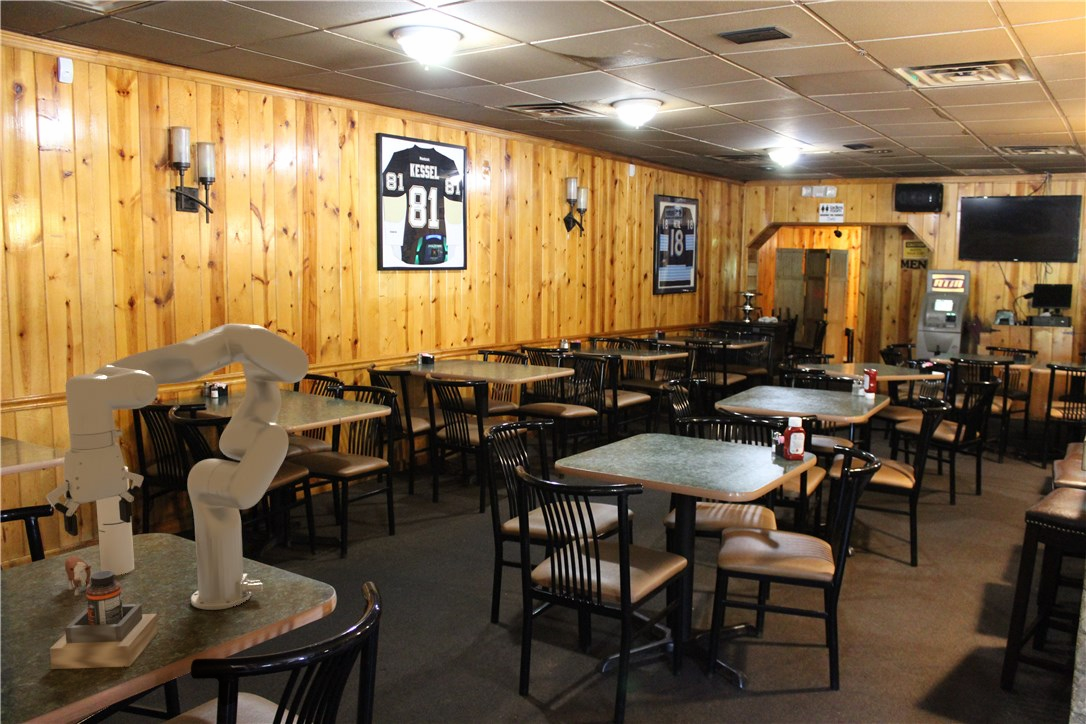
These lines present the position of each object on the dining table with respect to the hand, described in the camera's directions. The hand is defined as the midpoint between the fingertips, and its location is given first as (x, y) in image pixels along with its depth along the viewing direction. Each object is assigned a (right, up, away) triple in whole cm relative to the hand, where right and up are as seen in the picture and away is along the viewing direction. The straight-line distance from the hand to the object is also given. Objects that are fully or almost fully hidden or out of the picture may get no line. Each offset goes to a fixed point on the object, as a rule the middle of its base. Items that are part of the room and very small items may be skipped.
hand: (99, 527), depth 161 cm
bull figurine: (-20, -21, +30) cm, 42 cm away
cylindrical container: (-18, -19, +43) cm, 50 cm away
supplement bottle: (0, -20, +2) cm, 21 cm away
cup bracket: (0, -24, +3) cm, 24 cm away
